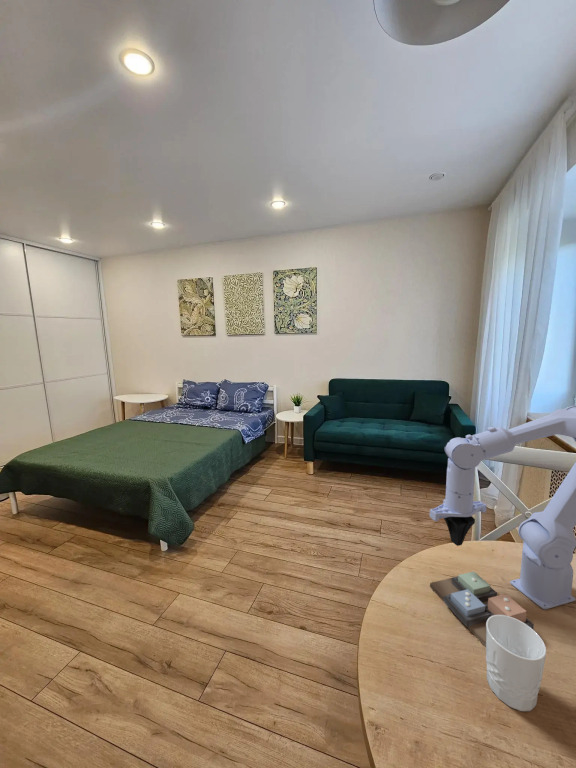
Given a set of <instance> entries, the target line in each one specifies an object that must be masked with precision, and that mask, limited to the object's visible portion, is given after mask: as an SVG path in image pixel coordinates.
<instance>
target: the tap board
mask: <svg viewBox="0 0 576 768" xmlns="http://www.w3.org/2000/svg"><path fill="white" fill-rule="evenodd" d="M429 587H430V589H431V590H432V591H433V592H435V594H436V595H437V596H438V597H439V598H440V599H441V601H443V602H444V604H445V605H446V606H447V607H448V608H449V609H450V611H451V612H452V613H453V614H454V615H455V616H456V617H457V618H458V619H459V621H461V622H462V623H463V625H464V626H465V628H467V629H468V630H469V631H470V632H471V634H473V636H474V637H475V638H476V639H477V640H478V641H479V642H480V644H482V645H483V647H484V648H486V622H487V620H488V618H489V617H491V616H493V614H492V613H491V612H490V611H489V610H488V598H491V597H495V596H498V592H497V591H496V590H495V589H493V588H492V586H491V587H490V592H487V593H484V594H480V595H476V596H475V597H477V598H478V599H479V600H480V601H481V602H482V603H483V604H484V605H485V613H481V614H478V615H474V616H470V617H466V616H465V615H464V614H463V613H462V612H461V610H460V609H459V608H458V607H457V606H456V605H455V604H454V603H453V602H452V601H451V600H450V597H451V593H455V592H459V591H463V590H467V589H466V588H465V587H464V586H463V585H462V584H461V583H460V582H459V581H458V576H452V577H450V578H446V579H441V580H435V581H433V582H430V583H429ZM525 624H526V625H528V626H529V627H530V628H532V629H533V630H534V625H535V624H534V623H533V622H532V620H530V619H528V618H527V617H526V623H525Z"/></svg>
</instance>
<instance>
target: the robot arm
mask: <svg viewBox="0 0 576 768" xmlns="http://www.w3.org/2000/svg"><path fill="white" fill-rule="evenodd" d="M555 435H561V436H565V437H569V438H572V439H573V440H574V442H575V443H576V405H570V406H568V407H566V408H559V409H556V410H554V411H553V412H552V413H549V414H546V415H545V416H541V417H539V418H537V419H534V420H530V421H528V422H525V423H522V424H520V425H517V426H514V427H512V428H510V429H505V428H503V427H500V426H498V427H495V426H489V427H487V428H486V430H485V431H482V432H479V433H476V434H472V435H471V434H467V435H465V438H464V437H460V436H459V437H458V436H457V437H454V438H451V439H450V440H449V441H448V442H447V443H446V445H445V446H444V452H445V454H446V456H447V457H448V458H447V467H446V480H445V481H446V482H445V483H446V484H445V498H444V499H443V500H442V503H441V504H440V505H438V506H436V507H434V508H430V509H429V518H431V519H432V520H433V521H434V522H439V520H440V519H444V522H445V524H446V526H447V529H448V533H449V538H450V542H452V543H453V544H454V545H456V546H457V547H459V546H462V545H463V543H464V540H465V539H466V536H467V534H468V532H469V531H470V529H471V528H472V526H474V524H476V518H474V515H476V514H477V513H479V512H481V513H486V512H487V506H488V505H487V504H486V503H485V502H482V501H481V500H478V501H477V500H475V501H474V496H475V494H474V493H475V477H476V473H475V472H476V468H477V467H478V466H479V465H480V463H481V462H482V461H484V460H487V459H490V458H493V457H497V456H500V455H504V454H509V453H511V452H513V451H514V449H515V448H516V445H520V444H523V443H526V442H527V443H528V442H531V441H534V440H538V439H543V438H547V437H551V436H555ZM575 527H576V461H575V463H574V464H573V465H572V467H571V468H570V470H569V471H568V473H567V475H566V476H565V477H564V479H563V481H562V482H561V483H560V485H559V487H558V488H557V490H556V491H555V493H554V494H553V496H552V497H551V498H550V500H549V502H548V503H547V505H546V507H545V508H544V510H542V511H536V512H533V513H532V514H531V515H530V517H528V518H527V519H526V520H524V521H522V522H521V523H520V524H519V526H518V528H517V532H518V533H517V534H518V535H519V537H520V539H521V540H523V544H522V552H521V561H520V563H521V564H520V573H519V574H520V576H519V578H517V579H516V578H515V579H513V580H510V581H509V583H510V585H511V586H513V587H514V588H515V589H517V590H518V591H519V592H520V593H522V594H524V595H523V596H526V597H527V598H528V599H529V600H531V601H532V602H533V603H534V604H536V605H537V606H538V607H540V609H543V610H547V609H551V608H554V607H558V606H559V607H560V606H562V605H566V604H568V603H572V602H575V601H576V597H574V596H573V595H572V592H573V591H572V589H573V581H574V569H573V566H572V564H571V563H572V562H573V559H574V551H575V548H576V536H575V533H574V528H575Z"/></svg>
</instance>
